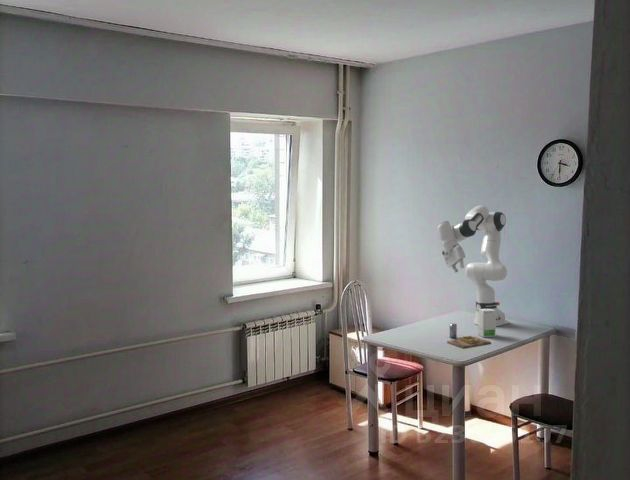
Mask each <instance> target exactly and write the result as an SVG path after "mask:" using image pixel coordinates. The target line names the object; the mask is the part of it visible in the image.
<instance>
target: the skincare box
mask: <svg viewBox="0 0 630 480" xmlns="http://www.w3.org/2000/svg"><path fill="white" fill-rule="evenodd" d="M477 326H478V329H477V331H478V332H477V334H478V336H479V337H481V338H493V337H494V338H495V337H496V327H497V326H496V310H493V309H479V322H478V325H477Z"/></svg>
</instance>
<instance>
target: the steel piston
mask: <svg viewBox="0 0 630 480" xmlns="http://www.w3.org/2000/svg"><path fill="white" fill-rule="evenodd" d="M457 327H458V325H457V323H449V339H452V340H457V339H458V333H457V332H458V331H457V329H458V328H457Z"/></svg>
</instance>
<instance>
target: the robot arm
mask: <svg viewBox="0 0 630 480" xmlns="http://www.w3.org/2000/svg"><path fill="white" fill-rule="evenodd" d="M506 221H507V219H506V216H505V214H504V213H503V212H500V211H491V212H490V211H489V207H487V206H486V205H482V204H481V205H477V206H474V207H473V208H472V209H470V210H469V211H468V212H466V214H465V217H464V220H462V222H460V223H458V224H456V225H452V224H451V223H450V221H449V220H446V221H443V222H441V223H439V224H438V225H437V227H436V228H437V234H438V236H439V237H438V238H439V239H440V241H441V244H442V251H441V255H442V257H444V261H445V265H446V266H447V267H448V268H451V269H452V270H453V272H454V273H455V274H457V273H459V269H458V268H457V264H459V267H460V269H463V268H465V271H464V273H465V275H466V276H467V278H468V279H469V280H471V282H472V283H473V285H474V286H475V290H476V291H475V293H476V301H475V307H476V308H475V315H474V320H473V321H474V322H473V324H475V325H477V326H478V322H479V309H493V310H496V327H500V326H503V325H508V324H509V323H510V321H509V320H508V319H506V314H505V313H504V312H503V311H502V310H501V309H499V307H497V306H501V305H500V304H501V303H500V302H498V301H496V300H495V297H496V294H495V293H496V291H495V289H494V287H493V286H491V285H489V284H488V283H487V281H492V282H496V281H503V280H505V279H506V277H507V276H508V270H507V267H506V266H505V265H504V264H503V263H502V262H501V260H500V255H499V254H500V247H501V239H502V237H501V234H502V233H501V231H503V229H504V227H505V226H506ZM477 231H485V233H484V236H483V239H482V242H481V249H480V255H481V257H482V258H484V259H485V260H486V261H487V262H477V261H475V262H470V263H467V265H466V266H465V265H464V259H465V258H466V254H465V252H464V249H463V248H462V246H461V245H460V244H459V243H460V242H462V241H464V240H466V239H468V238H470V237H472V236H474V235H475V234H476V232H477Z"/></svg>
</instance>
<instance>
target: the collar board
mask: <svg viewBox="0 0 630 480" xmlns="http://www.w3.org/2000/svg"><path fill="white" fill-rule="evenodd" d="M446 343H447V344H448V345H451V346H455V347H458V348H459V349H460V348H461V349H467V348H472V347H478V346H484V345H489V344H491V341H490V340H487V339H483V338H482V337H481V338H480V337H478V336H472V335H465V336H459V337H458V338H456V339H452V340H447V341H446Z"/></svg>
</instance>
